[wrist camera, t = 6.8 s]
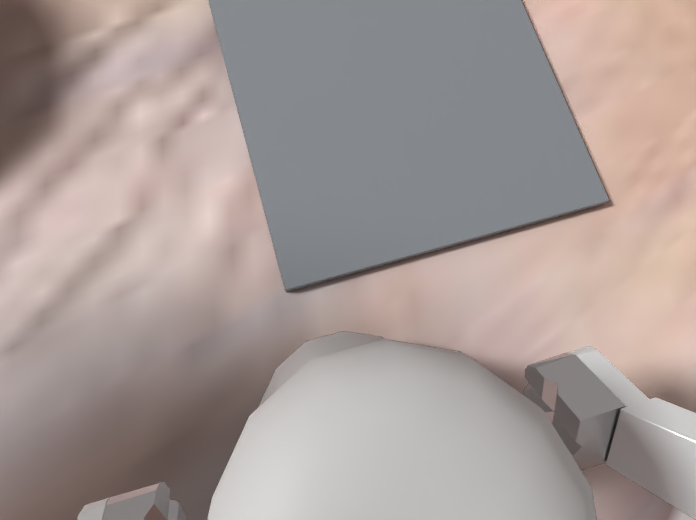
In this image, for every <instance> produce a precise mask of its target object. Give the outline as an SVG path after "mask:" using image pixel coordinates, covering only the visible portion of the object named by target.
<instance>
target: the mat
mask: <svg viewBox="0 0 696 520" xmlns="http://www.w3.org/2000/svg"><path fill="white" fill-rule="evenodd" d="M209 4H210V8H211V12H212V15H213V19H214V23H215V27H216V31H217V34H218V38H219V42H220V46H221V50H222V53H223V57H224V61H225V65H226V68H227V72H228V76H229V80H230V84H231V87H232V91H233V95H234V99H235V103H236V106H237V110H238V114H239V118H240V121H241V125H242V129H243V133H244V137H245V140H246V144H247V148H248V152H249V156H250V159H251V163H252V167H253V171H254V174H255V178H256V182H257V186H258V190H259V193H260V197H261V201H262V205H263V209H264V212H265V216H266V220H267V224H268V227H269V231H270V235H271V239H272V243H273V246H274V250H275V254H276V258H277V261H278V265H279V269H280V273H281V277H282V280H283V284H284V288H285V291H286V292H288V291H291V290H295V289H298V288H302V287H306V286H309V285H313V284H317V283H320V282H324V281H327V280H331V279H335V278H338V277H342V276H345V275H349V274H353V273H356V272H360V271H364V270H367V269H371V268H374V267H378V266H382V265H385V264H389V263H392V262H396V261H400V260H403V259H407V258H411V257H414V256H418V255H421V254H425V253H429V252H432V251H436V250H439V249H443V248H447V247H450V246H454V245H458V244H461V243H465V242H468V241H472V240H476V239H479V238H483V237H486V236H490V235H494V234H497V233H501V232H505V231H508V230H512V229H515V228H519V227H523V226H526V225H530V224H533V223H537V222H541V221H544V220H548V219H551V218H555V217H559V216H562V215H566V214H570V213H573V212H577V211H580V210H584V209H588V208H591V207H595V206H598V205H602V204H604V203H606V202H607V201H609V199H608V196H607V194H606V192H605V189H604V187H603V185H602V183H601V180H600V178H599V176H598V174H597V171H596V169H595V167H594V164H593V162H592V160H591V158H590V155H589V153H588V151H587V149H586V146H585V144H584V142H583V140H582V137H581V135H580V133H579V130H578V128H577V126H576V124H575V121H574V119H573V117H572V115H571V112H570V110H569V108H568V105H567V103H566V101H565V99H564V96H563V94H562V92H561V90H560V87H559V85H558V83H557V81H556V78H555V76H554V74H553V71H552V69H551V67H550V65H549V62H548V60H547V58H546V56H545V53H544V51H543V49H542V46H541V44H540V42H539V40H538V37H537V35H536V33H535V31H534V28H533V26H532V24H531V22H530V19H529V17H528V15H527V12H526V10H525V8H524V6H523V3H522V1H521V0H209Z"/></svg>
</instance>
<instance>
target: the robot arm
mask: <svg viewBox="0 0 696 520" xmlns="http://www.w3.org/2000/svg"><path fill="white" fill-rule="evenodd" d="M525 378H526V379H527V381H528V382H529V384H528V385H527V386H526V388H525V389H524V391H523V395H524V396H525V397H526V398H528V399H529V400H531V401H532V402H533V403H535V404H536V405H537V406H539V407H540V408H542V409H543V410H544V412H545V414H546V415H547V417H548V418H549V420H550V422H551V423H552V425H553V426H554V428H555V430H556V431H557V433H558V434H559V436H560V438H561V439H562V441H563V442H564V444H565V446H566V447H567V449H568V450H569V452H570V454H571V455H572V457H573V458H574V460H575V462H576V463H577V465H578V466H579V468H580V470H583V469H587V468H590V467H593V466H596V465H599V464H602V463H605V462H606V465H607V466H609V467H610V468H612V469H614V470H615V471H617V472H619V473H620V474H622V475H623V476H625V477H627V478H628V479H630V480H632V481H633V482H635V483H636V484H638V485H640V486H641V487H643V488H645V489H646V490H648V491H649V492H651V493H653V494H654V495H656V496H658V497H659V498H661V499H662V500H664V501H666V502H667V503H669V504H671V505H672V506H674V507H675V508H677V509H679V510H680V511H682V512H684V513H685V514H687V515H688V516H690V517H692V518H693V519H695V520H696V413H695V412H692V411H690V410H687V409H684V408H682V407H679V406H677V405H674V404H672V403H669V402H667V401H664V400H662V399H659V398H657V397H654V398H651V399H649V398H648V397H647V396H646V395H645V394H644V393H643V392H641V391H640V390H639V389H638V388H637V387H636V386H635V385H634V384H633V383H632V382H631V381H630V380H629V379H628V378H627V377H625V376H624V375H623V374H622V373H621V372H620V371H619V370H618V369H617V368H616V367H615V366H614V365H613V364H612V363H610V362H609V361H608V360H607V359H606V358H605V357H604V356H603V355H602V354H601V353H600V352H599V351H598V350H597V349H595V348H593V347H591V346H588V347H584V348H581V349H578V350H575V351H572V352H569V353H563V354H560V355H557V356H554V357H552V358H549V359H546V360H543V361H540V362H537V363H534V364H531V365H528V366H527V368H526V369H525ZM170 492H171V490H170V488H169V487H168V486H167V485H166V483H165V482H160V483H157V484H153V485H150V486H147V487H143V488H140V489H137V490H133V491H130V492H126V493H123V494H120V495H116V496H113V497H109V498H106V499H103V500H99V501H96V502H93V503H90V504H87V505H84V507H83V509H82V510H81V512H80V513H79V515H78V518H77V520H187V518H186V515H185V512H184V509H183V507H182V506H181V504H180V503H179V502H178V501H175V500H172V499H170Z"/></svg>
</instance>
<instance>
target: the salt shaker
mask: <svg viewBox="0 0 696 520" xmlns="http://www.w3.org/2000/svg"><path fill="white" fill-rule="evenodd" d="M208 520H597V518H596V511H595V505H594V499H593V492H592V487H591V486H590V484H589V482H588V481H587V479H586V478H585V476H584V474H583V473H582V471H581V470H580V468H579V466H578V465H577V463H576V462H575V460H574V458H573V457H572V455H571V454H570V452H569V450H568V449H567V447H566V446H565V444H564V442H563V441H562V439H561V438H560V436H559V434H558V433H557V431H556V430H555V428H554V426H553V425H552V423H551V422H550V420H549V418H548V417H547V415H546V414H545V412H544V410H543V409H542V408H540V407H539V406H537V405H536V404H535V403H533V402H532V401H531V400H529V399H528V398H526V397H525V396H524V395H522V394H521V393H520V392H518V391H517V390H515V389H514V388H513V387H511V386H510V385H508V384H507V383H506V382H504V381H503V380H502V379H500V378H499V377H497V376H496V375H495V374H493V373H492V372H490V371H489V370H488V369H486V368H485V367H484V366H482V365H481V364H479V363H478V362H477V361H475V360H474V359H472V358H470V357H469V356H467V355H465V354H463V353H461V352H460V351H454V350H448V349H442V348H436V347H429V346H423V345H417V344H411V343H405V342H399V341H393V340H387V339H384V338H383V337H379V336H373V335H366V334H360V333H354V332H347V331H342V332H339V333H335V334H331V335H327V336H324V337H320V338H316V339H312V340H308V341H306V342H305V343H303V344H302V345H301V346H300V347H299V348H298V349H297V350H296V351H295V352H294V353H293V354H292V355H290V356H289V357H288V358H287V359H286V360H285V361H284V362H283V363H282V364H281V365H280V366H279V367H278V368H276V370H275V372H274V375H273V377H272V379H271V381H270V383H269V385H268V387H267V389H266V392H265V394H264V396H263V398H262V400H261V402H260V404H259V407H258V408H257V409H256V410H255V411H254V412H253V413H252V414H251V415H250V416H249V418H248V420H247V422H246V424H245V427H244V429H243V431H242V433H241V435H240V438H239V440H238V442H237V444H236V446H235V449H234V451H233V453H232V455H231V457H230V459H229V462H228V464H227V466H226V468H225V470H224V473H223V475H222V477H221V479H220V481H219V484H218V486H217V488H216V490H215V492H214V494H213V497H212V500H211V505H210V509H209V514H208Z"/></svg>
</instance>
